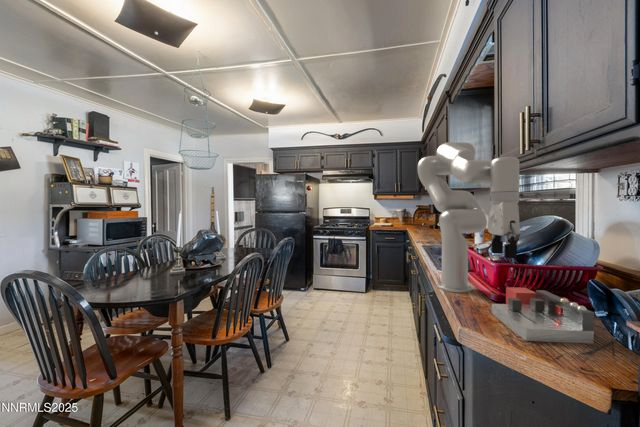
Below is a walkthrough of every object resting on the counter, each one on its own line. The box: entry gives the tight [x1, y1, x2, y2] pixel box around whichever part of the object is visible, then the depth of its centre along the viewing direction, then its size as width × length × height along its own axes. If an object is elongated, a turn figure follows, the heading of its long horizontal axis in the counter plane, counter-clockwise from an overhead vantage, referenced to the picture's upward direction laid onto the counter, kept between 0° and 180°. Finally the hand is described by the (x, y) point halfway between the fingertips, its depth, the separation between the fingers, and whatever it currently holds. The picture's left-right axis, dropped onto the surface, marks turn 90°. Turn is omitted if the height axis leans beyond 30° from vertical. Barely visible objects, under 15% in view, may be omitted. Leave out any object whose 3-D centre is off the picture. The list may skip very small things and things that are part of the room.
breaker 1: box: [508, 298, 522, 311], centre depth 84 cm, size 2×2×3 cm
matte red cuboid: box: [505, 286, 536, 305], centre depth 93 cm, size 6×6×6 cm
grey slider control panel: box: [491, 289, 595, 344], centre depth 79 cm, size 18×15×8 cm
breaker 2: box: [530, 298, 545, 312], centre depth 83 cm, size 2×2×3 cm
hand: (503, 255), depth 90 cm, fingers open, 7 cm apart
